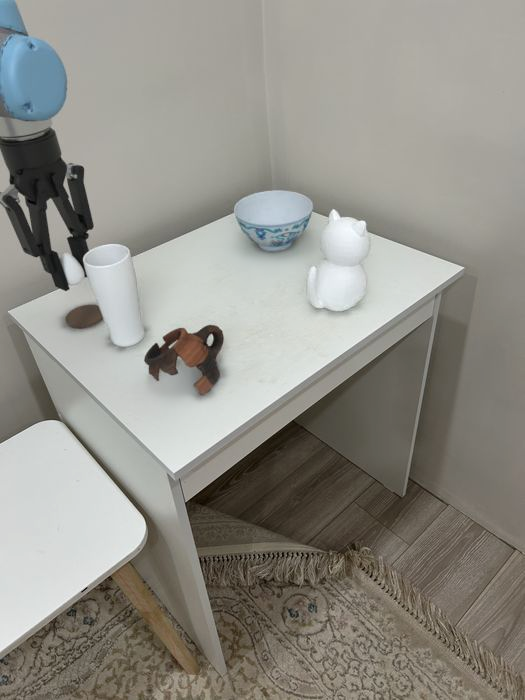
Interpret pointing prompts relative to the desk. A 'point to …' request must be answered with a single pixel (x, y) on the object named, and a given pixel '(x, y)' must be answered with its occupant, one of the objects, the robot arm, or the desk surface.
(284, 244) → the chinaware
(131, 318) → the drinking glass
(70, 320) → the coaster
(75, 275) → the egg
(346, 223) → the cat figurine
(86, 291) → the desk surface
